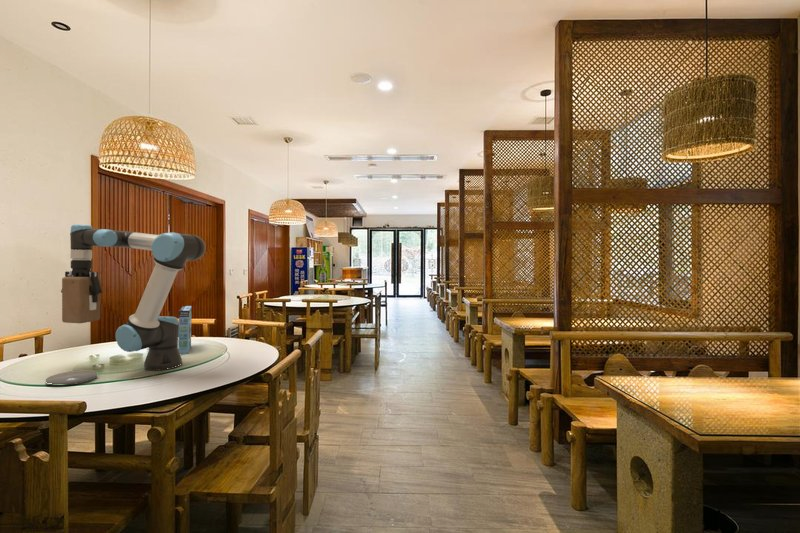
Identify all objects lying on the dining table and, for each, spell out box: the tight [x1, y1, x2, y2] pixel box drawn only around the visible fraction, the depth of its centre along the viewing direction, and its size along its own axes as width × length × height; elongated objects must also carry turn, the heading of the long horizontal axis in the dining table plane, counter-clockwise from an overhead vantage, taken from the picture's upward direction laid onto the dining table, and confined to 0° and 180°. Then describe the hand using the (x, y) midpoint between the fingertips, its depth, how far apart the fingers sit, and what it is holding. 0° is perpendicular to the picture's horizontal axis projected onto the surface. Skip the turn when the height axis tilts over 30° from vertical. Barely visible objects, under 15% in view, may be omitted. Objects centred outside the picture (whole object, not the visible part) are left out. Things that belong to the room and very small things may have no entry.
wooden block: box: [61, 276, 101, 324], centre depth 177 cm, size 10×10×20 cm
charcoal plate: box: [45, 369, 98, 385], centre depth 160 cm, size 16×16×2 cm
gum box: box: [178, 305, 193, 355], centre depth 215 cm, size 20×5×23 cm, turn 24°
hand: (81, 309), depth 177 cm, fingers closed on wooden block, 10 cm apart
